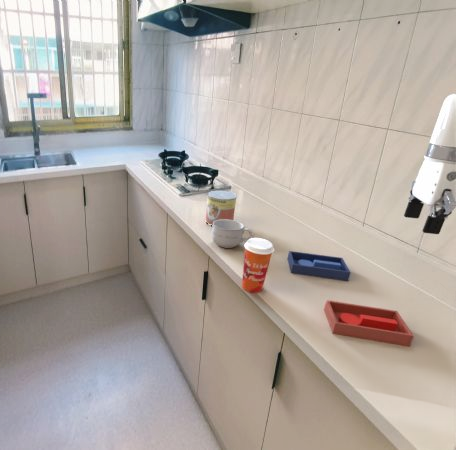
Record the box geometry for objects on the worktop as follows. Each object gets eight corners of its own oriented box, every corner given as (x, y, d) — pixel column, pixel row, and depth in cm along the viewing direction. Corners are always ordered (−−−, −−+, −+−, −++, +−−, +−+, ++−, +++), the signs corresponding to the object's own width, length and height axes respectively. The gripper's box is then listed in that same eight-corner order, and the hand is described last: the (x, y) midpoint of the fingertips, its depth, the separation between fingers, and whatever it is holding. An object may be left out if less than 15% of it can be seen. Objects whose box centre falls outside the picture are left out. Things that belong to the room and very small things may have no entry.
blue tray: (340, 265, 109) (342, 257, 108) (348, 281, 100) (350, 272, 99) (287, 258, 112) (289, 250, 111) (290, 273, 104) (292, 264, 102)
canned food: (199, 221, 139) (202, 193, 134) (216, 215, 146) (219, 188, 141) (221, 230, 131) (225, 201, 126) (238, 223, 138) (242, 195, 133)
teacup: (205, 245, 119) (207, 224, 116) (218, 234, 127) (220, 215, 124) (242, 257, 112) (246, 235, 109) (254, 245, 120) (257, 225, 117)
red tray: (393, 320, 84) (397, 310, 83) (409, 346, 76) (414, 336, 75) (323, 309, 87) (326, 300, 86) (332, 333, 79) (335, 323, 78)
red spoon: (389, 323, 82) (392, 315, 81) (397, 336, 78) (401, 328, 77) (336, 315, 85) (338, 307, 84) (341, 327, 81) (343, 319, 80)
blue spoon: (336, 267, 107) (338, 260, 106) (340, 274, 103) (342, 268, 102) (296, 261, 109) (298, 255, 108) (298, 268, 105) (300, 262, 104)
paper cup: (236, 291, 94) (243, 246, 88) (240, 277, 100) (247, 234, 95) (265, 298, 91) (274, 252, 86) (267, 283, 98) (276, 240, 92)
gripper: (493, 164, 66) (458, 242, 73) (445, 148, 81) (420, 213, 88) (449, 160, 67) (419, 237, 74) (410, 145, 83) (388, 210, 90)
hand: (420, 224), depth 81 cm, fingers open, 9 cm apart
